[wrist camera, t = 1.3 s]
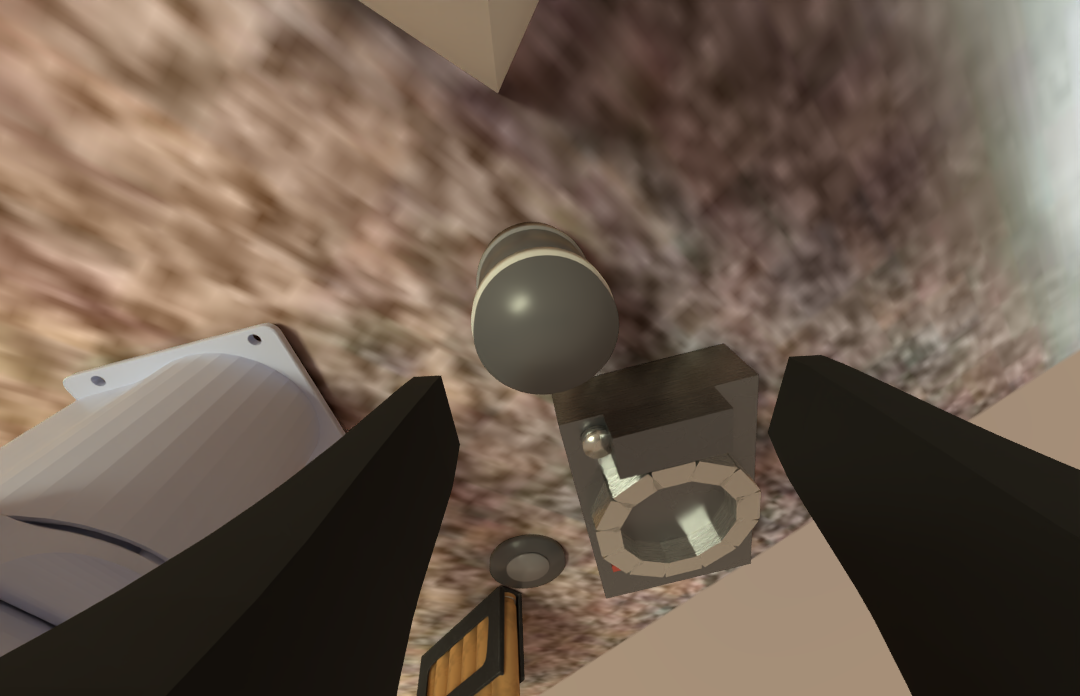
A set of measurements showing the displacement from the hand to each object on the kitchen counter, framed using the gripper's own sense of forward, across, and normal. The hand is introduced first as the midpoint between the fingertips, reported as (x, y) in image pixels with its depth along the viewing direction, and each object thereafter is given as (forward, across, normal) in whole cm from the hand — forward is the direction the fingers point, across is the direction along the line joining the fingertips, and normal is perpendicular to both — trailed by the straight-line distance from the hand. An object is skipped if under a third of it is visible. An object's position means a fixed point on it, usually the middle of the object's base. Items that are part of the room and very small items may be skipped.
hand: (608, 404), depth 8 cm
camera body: (+10, -3, +13) cm, 16 cm away
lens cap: (+9, +5, +20) cm, 22 cm away
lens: (+10, +2, 0) cm, 10 cm away
